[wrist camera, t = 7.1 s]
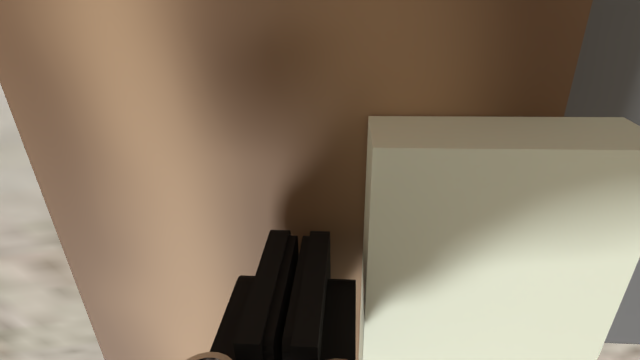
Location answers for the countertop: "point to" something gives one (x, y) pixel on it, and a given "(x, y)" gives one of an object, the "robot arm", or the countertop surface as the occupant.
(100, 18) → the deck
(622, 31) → the mat
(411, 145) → the cream rectangular block
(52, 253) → the countertop surface
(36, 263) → the countertop surface
